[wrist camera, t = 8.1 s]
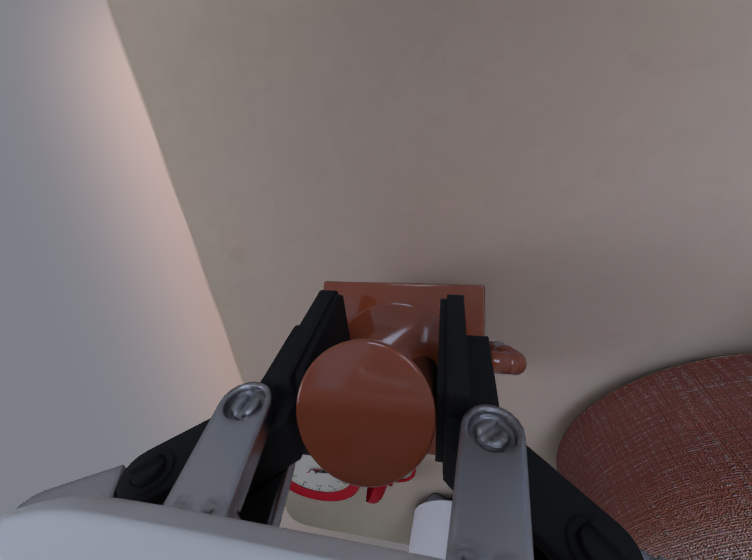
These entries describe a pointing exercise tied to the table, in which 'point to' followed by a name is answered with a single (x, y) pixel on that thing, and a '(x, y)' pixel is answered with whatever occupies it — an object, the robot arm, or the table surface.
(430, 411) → the brown handled box
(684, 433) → the planter
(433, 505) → the cup
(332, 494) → the alarm clock
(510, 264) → the table surface
